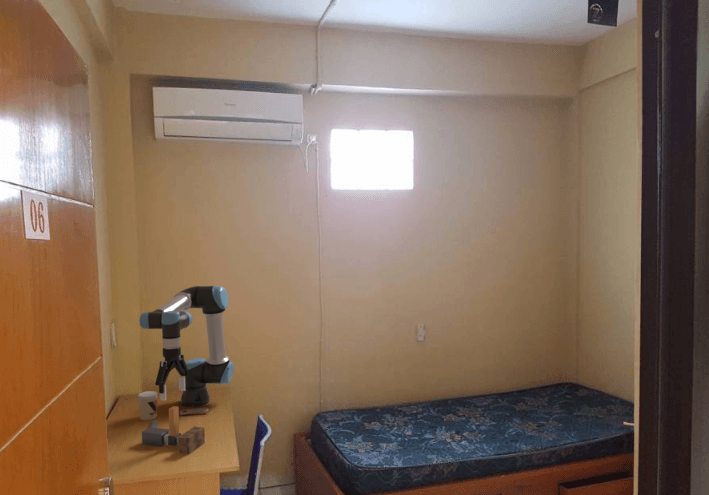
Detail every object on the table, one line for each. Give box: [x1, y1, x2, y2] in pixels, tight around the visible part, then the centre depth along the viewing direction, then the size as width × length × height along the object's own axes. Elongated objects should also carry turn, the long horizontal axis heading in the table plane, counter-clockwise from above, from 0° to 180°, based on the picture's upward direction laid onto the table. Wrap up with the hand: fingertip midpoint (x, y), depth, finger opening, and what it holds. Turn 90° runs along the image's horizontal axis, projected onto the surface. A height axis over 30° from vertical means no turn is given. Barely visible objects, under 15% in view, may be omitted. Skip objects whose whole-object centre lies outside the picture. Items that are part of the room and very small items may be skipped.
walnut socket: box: [178, 426, 206, 456], centre depth 232 cm, size 12×5×7 cm, turn 163°
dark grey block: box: [141, 426, 169, 448], centre depth 237 cm, size 6×10×6 cm, turn 73°
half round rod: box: [148, 420, 159, 428], centre depth 252 cm, size 4×20×2 cm, turn 16°
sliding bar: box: [162, 405, 182, 447], centre depth 236 cm, size 4×20×16 cm, turn 73°
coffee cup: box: [137, 390, 159, 421], centre depth 269 cm, size 9×9×12 cm
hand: (172, 395), depth 233 cm, fingers open, 13 cm apart
